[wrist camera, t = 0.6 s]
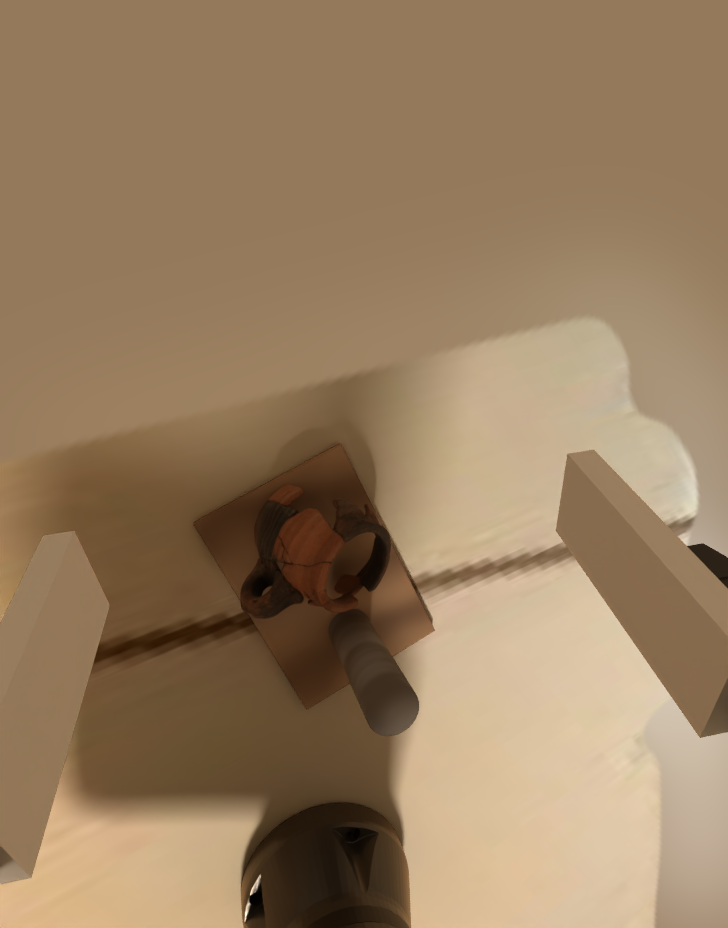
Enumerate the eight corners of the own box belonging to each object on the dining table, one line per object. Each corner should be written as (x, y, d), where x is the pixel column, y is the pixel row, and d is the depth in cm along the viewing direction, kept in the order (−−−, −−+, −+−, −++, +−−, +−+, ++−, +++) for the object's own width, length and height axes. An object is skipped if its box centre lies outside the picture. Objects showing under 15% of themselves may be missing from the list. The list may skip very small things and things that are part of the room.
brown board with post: (432, 627, 51) (501, 707, 39) (305, 705, 49) (336, 816, 37) (339, 443, 46) (385, 470, 34) (193, 522, 44) (186, 580, 32)
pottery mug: (308, 449, 45) (378, 487, 39) (348, 521, 51) (413, 562, 46) (191, 556, 41) (251, 615, 35) (250, 620, 47) (309, 678, 42)
